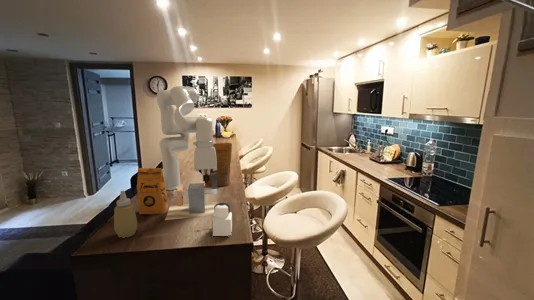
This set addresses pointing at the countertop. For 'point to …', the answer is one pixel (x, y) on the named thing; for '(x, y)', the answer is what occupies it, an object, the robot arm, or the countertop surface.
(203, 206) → the metal block
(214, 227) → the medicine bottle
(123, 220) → the squeeze bottle
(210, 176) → the pancake mix bag
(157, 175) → the coffee package
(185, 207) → the board
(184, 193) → the l-shaped metal bar
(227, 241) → the countertop surface
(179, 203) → the collar
